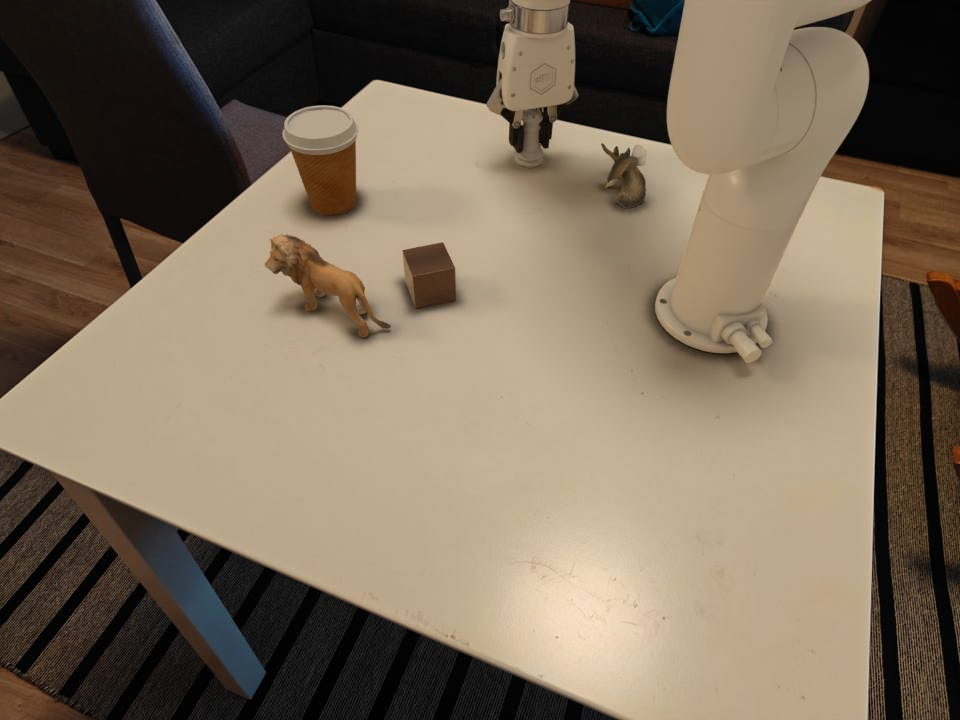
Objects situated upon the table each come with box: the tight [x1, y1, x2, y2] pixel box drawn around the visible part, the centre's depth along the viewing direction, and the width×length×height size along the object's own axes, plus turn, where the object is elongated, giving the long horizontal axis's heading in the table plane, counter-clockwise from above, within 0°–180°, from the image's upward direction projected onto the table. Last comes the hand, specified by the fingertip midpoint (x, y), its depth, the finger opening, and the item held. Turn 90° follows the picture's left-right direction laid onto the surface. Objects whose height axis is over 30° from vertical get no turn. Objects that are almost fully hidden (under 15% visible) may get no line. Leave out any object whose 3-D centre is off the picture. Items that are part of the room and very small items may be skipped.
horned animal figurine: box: [600, 142, 647, 209], centre depth 91 cm, size 8×7×9 cm
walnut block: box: [401, 242, 457, 310], centre depth 76 cm, size 5×5×5 cm
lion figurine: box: [264, 233, 391, 339], centre depth 72 cm, size 15×5×9 cm, turn 66°
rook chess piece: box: [513, 108, 544, 169], centre depth 95 cm, size 4×4×8 cm
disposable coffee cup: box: [282, 104, 359, 216], centre depth 86 cm, size 10×10×12 cm
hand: (529, 145), depth 96 cm, fingers closed on rook chess piece, 3 cm apart
